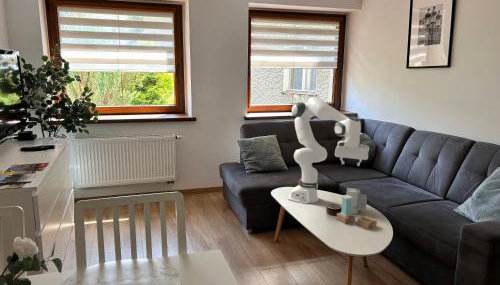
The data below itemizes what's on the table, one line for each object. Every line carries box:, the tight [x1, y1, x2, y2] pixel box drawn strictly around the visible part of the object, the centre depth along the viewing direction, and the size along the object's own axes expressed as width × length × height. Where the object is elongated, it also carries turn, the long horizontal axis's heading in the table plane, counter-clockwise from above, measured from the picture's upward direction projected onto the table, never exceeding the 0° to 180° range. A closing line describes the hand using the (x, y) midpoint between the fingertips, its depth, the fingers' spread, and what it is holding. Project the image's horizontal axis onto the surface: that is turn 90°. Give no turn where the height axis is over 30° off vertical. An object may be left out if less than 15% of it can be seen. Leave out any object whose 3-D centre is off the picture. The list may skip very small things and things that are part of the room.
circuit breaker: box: [346, 187, 370, 215], centre depth 247 cm, size 8×14×15 cm, turn 78°
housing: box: [339, 194, 353, 217], centre depth 231 cm, size 5×5×12 cm
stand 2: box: [356, 215, 378, 230], centre depth 226 cm, size 8×8×4 cm
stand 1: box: [336, 212, 356, 225], centre depth 233 cm, size 8×8×4 cm
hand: (350, 165), depth 232 cm, fingers open, 8 cm apart
